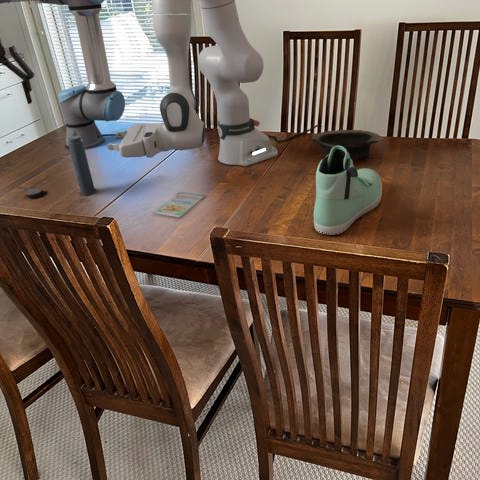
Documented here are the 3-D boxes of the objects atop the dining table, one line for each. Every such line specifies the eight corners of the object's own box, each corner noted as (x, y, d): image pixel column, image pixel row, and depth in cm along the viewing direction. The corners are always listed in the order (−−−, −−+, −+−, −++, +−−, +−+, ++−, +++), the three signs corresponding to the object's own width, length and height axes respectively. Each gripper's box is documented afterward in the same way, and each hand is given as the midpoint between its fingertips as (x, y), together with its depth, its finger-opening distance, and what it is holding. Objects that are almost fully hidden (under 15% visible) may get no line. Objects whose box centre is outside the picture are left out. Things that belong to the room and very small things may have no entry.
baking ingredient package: (153, 211, 144) (180, 191, 155) (154, 213, 144) (180, 193, 156) (178, 216, 140) (203, 195, 152) (178, 217, 141) (204, 197, 152)
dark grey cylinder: (88, 196, 159) (74, 140, 149) (78, 193, 161) (63, 139, 151) (97, 190, 162) (84, 135, 152) (88, 188, 164) (74, 134, 154)
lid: (29, 192, 164) (27, 188, 164) (44, 190, 165) (43, 186, 164) (26, 199, 160) (24, 195, 159) (42, 197, 161) (40, 192, 160)
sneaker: (389, 187, 148) (396, 123, 138) (356, 242, 123) (361, 168, 112) (346, 181, 154) (350, 119, 144) (306, 232, 129) (307, 161, 118)
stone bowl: (339, 174, 158) (339, 147, 154) (298, 157, 178) (296, 133, 174) (397, 156, 167) (398, 130, 163) (351, 141, 187) (350, 118, 183)
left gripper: (-69, 36, 131) (-40, 113, 142) (25, 28, 134) (46, 103, 145) (-59, 33, 138) (-32, 106, 149) (31, 24, 140) (51, 97, 152)
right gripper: (158, 117, 158) (117, 120, 159) (147, 139, 141) (101, 143, 142) (161, 135, 162) (121, 138, 163) (151, 159, 145) (106, 163, 145)
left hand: (7, 105), depth 147 cm, fingers open, 13 cm apart
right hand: (111, 141), depth 152 cm, fingers open, 8 cm apart
